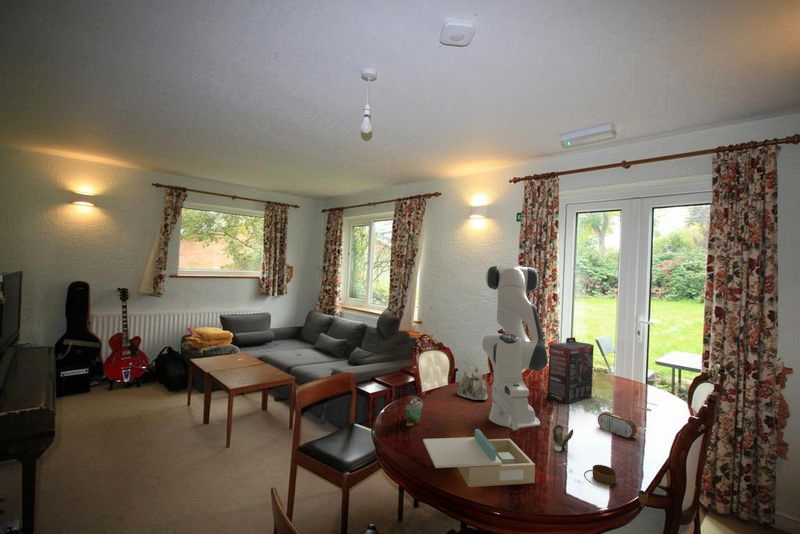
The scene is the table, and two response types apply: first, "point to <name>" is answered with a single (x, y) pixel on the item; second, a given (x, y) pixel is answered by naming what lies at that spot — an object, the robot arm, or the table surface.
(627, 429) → the tin
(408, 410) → the food container
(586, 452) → the table surface
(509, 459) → the cube
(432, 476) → the table surface
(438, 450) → the lid
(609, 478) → the place setting
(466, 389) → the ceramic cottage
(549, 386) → the headset box
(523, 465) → the box
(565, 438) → the eagle figurine
